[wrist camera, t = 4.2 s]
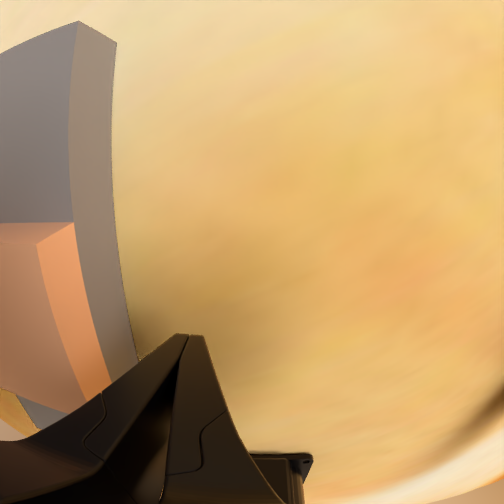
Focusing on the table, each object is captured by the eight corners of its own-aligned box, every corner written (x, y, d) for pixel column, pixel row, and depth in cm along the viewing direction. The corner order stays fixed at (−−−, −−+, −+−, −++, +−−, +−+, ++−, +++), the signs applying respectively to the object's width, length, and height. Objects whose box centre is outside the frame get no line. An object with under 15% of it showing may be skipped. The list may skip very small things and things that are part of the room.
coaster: (113, 387, 11) (97, 422, 9) (3, 356, 10) (-16, 379, 9) (73, 221, 8) (36, 244, 6) (-39, 224, 8) (-69, 240, 6)
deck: (155, 423, 16) (145, 460, 13) (53, 398, 16) (36, 427, 13) (116, 42, 8) (78, 20, 6) (-11, 86, 8) (-51, 85, 6)
